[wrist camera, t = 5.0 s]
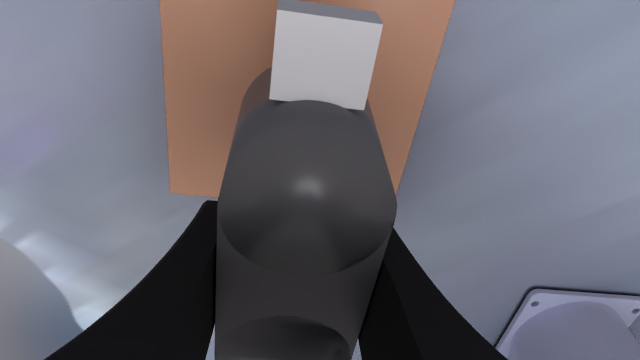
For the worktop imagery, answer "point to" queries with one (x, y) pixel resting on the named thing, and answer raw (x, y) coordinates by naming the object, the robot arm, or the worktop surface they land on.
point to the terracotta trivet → (257, 56)
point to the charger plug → (304, 194)
